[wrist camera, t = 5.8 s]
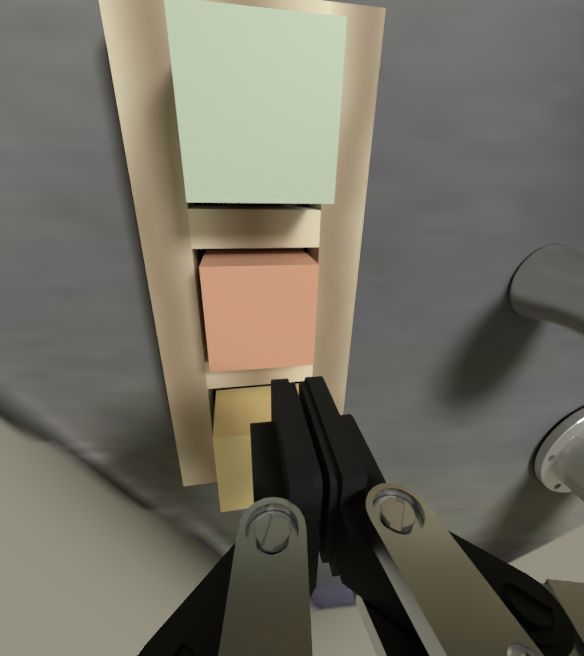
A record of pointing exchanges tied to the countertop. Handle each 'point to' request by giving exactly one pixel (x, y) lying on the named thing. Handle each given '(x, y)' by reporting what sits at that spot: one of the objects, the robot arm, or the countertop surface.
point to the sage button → (256, 101)
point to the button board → (235, 215)
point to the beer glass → (551, 287)
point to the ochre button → (237, 442)
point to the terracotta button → (259, 308)
